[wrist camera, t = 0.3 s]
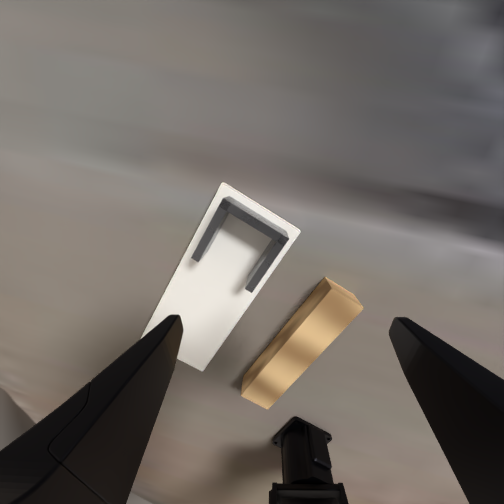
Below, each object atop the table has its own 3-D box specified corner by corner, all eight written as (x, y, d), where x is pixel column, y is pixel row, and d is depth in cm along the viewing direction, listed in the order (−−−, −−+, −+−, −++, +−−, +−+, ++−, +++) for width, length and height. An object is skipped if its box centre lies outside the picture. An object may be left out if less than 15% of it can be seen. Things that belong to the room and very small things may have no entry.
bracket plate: (205, 364, 29) (195, 393, 25) (145, 333, 28) (124, 357, 24) (299, 229, 22) (305, 239, 18) (224, 182, 21) (214, 182, 17)
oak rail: (267, 388, 30) (267, 409, 27) (243, 375, 30) (240, 395, 27) (352, 293, 25) (363, 308, 22) (324, 276, 24) (332, 288, 21)
